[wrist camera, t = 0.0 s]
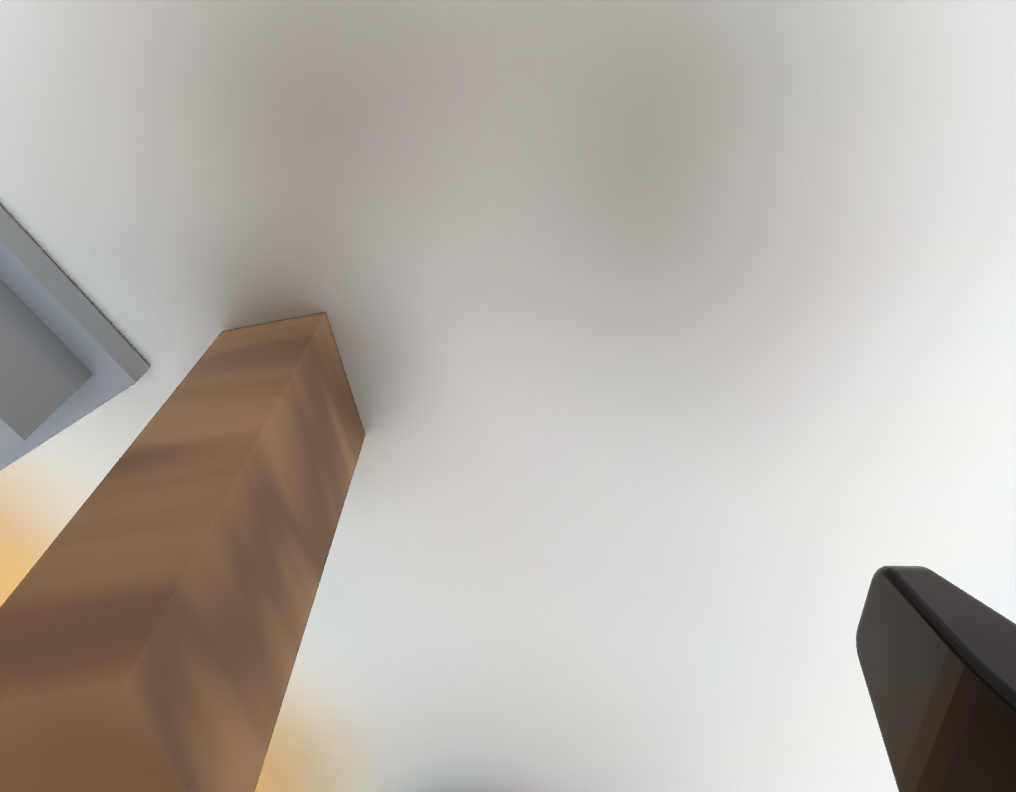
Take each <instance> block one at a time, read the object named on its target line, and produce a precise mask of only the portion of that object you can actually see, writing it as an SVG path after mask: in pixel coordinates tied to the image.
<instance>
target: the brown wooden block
mask: <svg viewBox="0 0 1016 792" xmlns="http://www.w3.org/2000/svg"><path fill="white" fill-rule="evenodd" d="M364 437H365V433H364V430H363V427H362V424H361V420H360V417H359V414H358V411H357V408H356V405H355V402H354V399H353V396H352V393H351V390H350V386H349V383H348V380H347V377H346V374H345V371H344V368H343V365H342V362H341V359H340V356H339V352H338V349H337V346H336V343H335V340H334V337H333V334H332V331H331V328H330V325H329V322H328V318H327V315H326V312H324V313H319V314H314V315H308V316H303V317H298V318H292V319H287V320H281V321H276V322H271V323H265V324H260V325H255V326H249V327H244V328H239V329H233V330H228V331H222V332H221V334H220V335H219V336H218V337H217V339H216V340H215V341H214V342H213V344H212V345H211V346H210V347H209V349H208V350H207V351H206V352H205V353H204V355H203V356H202V357H201V358H200V360H199V361H198V362H197V363H196V365H195V366H194V367H193V368H192V370H191V371H190V372H189V373H188V375H187V376H186V377H185V378H184V380H183V381H182V382H181V383H180V385H179V386H178V387H177V388H176V390H175V391H174V392H173V393H172V395H171V396H170V397H169V398H168V400H167V401H166V402H165V403H164V405H163V406H162V407H161V408H160V409H159V411H158V412H157V413H156V414H155V416H154V417H153V418H152V419H151V421H150V422H149V423H148V424H147V426H146V427H145V428H144V429H143V431H142V432H141V433H140V434H139V436H138V437H137V438H136V439H135V441H134V442H133V443H132V444H131V446H130V447H129V448H128V449H127V451H126V452H125V453H124V454H123V456H122V457H121V458H120V459H119V461H118V462H117V463H116V464H115V466H114V467H113V468H112V469H111V470H110V472H109V473H108V474H107V475H106V477H105V478H104V479H103V480H102V482H101V483H100V484H99V485H98V487H97V488H96V489H95V490H94V492H93V493H92V494H91V495H90V497H89V498H88V499H87V500H86V502H85V503H84V504H83V505H82V507H81V508H80V509H79V510H78V512H77V513H76V514H75V515H74V517H73V518H72V519H71V520H70V522H69V523H68V524H67V525H66V527H65V528H64V529H63V530H62V531H61V533H60V534H59V535H58V536H57V538H56V539H55V540H54V541H53V543H52V544H51V545H50V546H49V548H48V549H47V550H46V551H45V553H44V554H43V555H42V556H41V558H40V559H39V560H38V561H37V563H36V564H35V565H34V566H33V568H32V569H31V570H30V571H29V573H28V574H27V575H26V576H25V578H24V579H23V580H22V581H21V583H20V584H19V585H18V586H17V587H16V589H15V590H14V591H13V592H12V594H11V595H10V596H9V597H8V599H7V600H6V601H5V602H4V604H3V605H2V606H1V607H0V792H255V788H256V785H257V782H258V779H259V776H260V772H261V769H262V766H263V763H264V759H265V756H266V753H267V750H268V747H269V743H270V740H271V737H272V734H273V730H274V727H275V724H276V721H277V718H278V714H279V711H280V708H281V705H282V702H283V698H284V695H285V692H286V689H287V685H288V682H289V679H290V676H291V673H292V669H293V666H294V663H295V660H296V656H297V653H298V650H299V647H300V644H301V640H302V637H303V634H304V631H305V627H306V624H307V621H308V618H309V615H310V611H311V608H312V605H313V602H314V598H315V595H316V592H317V589H318V586H319V582H320V579H321V576H322V573H323V569H324V566H325V563H326V560H327V557H328V553H329V550H330V547H331V544H332V541H333V537H334V534H335V531H336V528H337V524H338V521H339V518H340V515H341V512H342V508H343V505H344V502H345V499H346V495H347V492H348V489H349V486H350V483H351V479H352V476H353V473H354V470H355V466H356V463H357V460H358V457H359V454H360V450H361V447H362V444H363V441H364Z"/></svg>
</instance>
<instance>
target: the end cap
mask: <svg viewBox="0 0 1016 792" xmlns="http://www.w3.org/2000/svg"><path fill="white" fill-rule="evenodd" d="M149 368H150V366H149V365H148V364H147V363H146V362H145V360H144V359H143V358H142V357H141V356H140V355H139V354H138V353H137V352H136V351H135V350H134V349H133V348H132V346H131V345H130V344H129V343H128V342H127V341H126V340H125V339H124V338H123V337H122V336H121V335H120V334H119V332H118V331H117V330H116V329H115V328H114V327H113V326H112V325H111V324H110V323H109V322H108V321H107V319H106V318H105V317H104V316H103V315H102V314H101V313H100V312H99V311H98V310H97V309H96V308H95V307H94V305H93V304H92V303H91V302H90V301H89V300H88V299H87V298H86V297H85V296H84V295H83V294H82V293H81V291H80V290H79V289H78V288H77V287H76V286H75V285H74V284H73V283H72V282H71V281H70V280H69V278H68V277H67V276H66V275H65V274H64V273H63V272H62V271H61V270H60V269H59V268H58V267H57V266H56V264H55V263H54V262H53V261H52V260H51V259H50V258H49V257H48V256H47V255H46V254H45V253H44V252H43V250H42V249H41V248H40V247H39V246H38V245H37V244H36V243H35V242H34V241H33V240H32V239H31V237H30V236H29V235H28V234H27V233H26V232H25V231H24V230H23V229H22V228H21V227H20V226H19V225H18V223H17V222H16V221H15V220H14V219H13V218H12V217H11V216H10V215H9V214H8V213H7V212H6V211H5V209H4V208H3V207H2V206H1V205H0V470H2V469H3V468H5V467H6V466H8V465H9V464H11V463H12V462H14V461H15V460H17V459H19V458H20V457H22V456H23V455H25V454H26V453H28V452H29V451H31V450H32V449H34V448H36V447H37V446H39V445H40V444H42V443H43V442H45V441H46V440H48V439H49V438H51V437H53V436H54V435H56V434H57V433H59V432H60V431H62V430H63V429H65V428H66V427H68V426H70V425H71V424H73V423H74V422H76V421H77V420H79V419H80V418H82V417H83V416H85V415H87V414H88V413H90V412H91V411H93V410H94V409H96V408H97V407H99V406H100V405H102V404H104V403H105V402H107V401H108V400H110V399H111V398H113V397H114V396H116V395H117V394H119V393H121V392H122V391H124V390H125V389H127V388H128V387H130V386H131V385H133V384H134V383H136V382H137V381H138V380H139V379H140V378H141V376H142V375H143V374H144V373H145V372H146V371H147V370H148V369H149Z"/></svg>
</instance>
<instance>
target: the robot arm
mask: <svg viewBox="0 0 1016 792" xmlns="http://www.w3.org/2000/svg"><path fill="white" fill-rule="evenodd" d="M856 647H857V654H858V658H859V661H860V665H861V668H862V671H863V674H864V678H865V681H866V684H867V688H868V691H869V694H870V698H871V701H872V704H873V708H874V711H875V714H876V718H877V721H878V724H879V727H880V731H881V734H882V737H883V741H884V744H885V747H886V751H887V754H888V757H889V761H890V764H891V767H892V771H893V774H894V777H895V780H896V784H897V787H898V790H899V792H1016V624H1015V623H1013V622H1011V621H1010V620H1008V619H1007V618H1005V617H1004V616H1002V615H1001V614H999V613H997V612H996V611H994V610H993V609H991V608H990V607H988V606H986V605H985V604H983V603H982V602H980V601H979V600H977V599H975V598H974V597H972V596H971V595H969V594H968V593H966V592H964V591H963V590H961V589H960V588H958V587H957V586H955V585H954V584H952V583H950V582H949V581H947V580H946V579H944V578H943V577H941V576H939V575H938V574H936V573H935V572H933V571H931V570H930V569H928V568H925V567H921V566H884V567H881V568H879V569H878V570H877V571H876V573H875V574H874V576H873V578H872V581H871V584H870V588H869V591H868V595H867V598H866V601H865V605H864V608H863V611H862V615H861V618H860V622H859V625H858V629H857V635H856Z"/></svg>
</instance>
